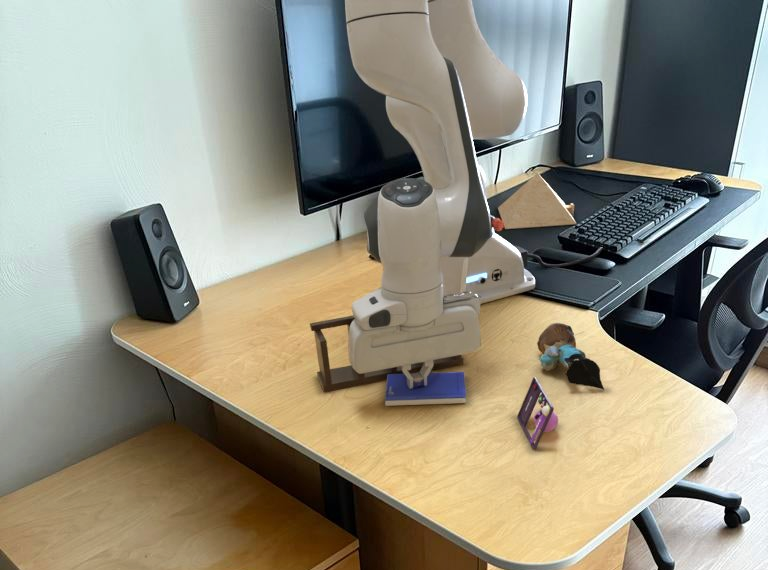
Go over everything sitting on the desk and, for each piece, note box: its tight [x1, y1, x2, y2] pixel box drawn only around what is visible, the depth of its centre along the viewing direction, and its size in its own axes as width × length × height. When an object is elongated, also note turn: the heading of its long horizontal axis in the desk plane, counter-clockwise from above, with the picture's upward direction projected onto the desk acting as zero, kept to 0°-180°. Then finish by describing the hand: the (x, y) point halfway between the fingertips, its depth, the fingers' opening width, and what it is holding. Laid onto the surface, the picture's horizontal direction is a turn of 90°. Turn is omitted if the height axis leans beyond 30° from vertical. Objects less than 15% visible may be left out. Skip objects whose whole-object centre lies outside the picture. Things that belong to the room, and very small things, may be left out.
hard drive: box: [384, 371, 467, 407], centre depth 121 cm, size 2×8×12 cm
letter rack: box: [309, 314, 465, 393], centre depth 125 cm, size 24×5×10 cm, turn 105°
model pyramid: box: [497, 172, 577, 230], centre depth 183 cm, size 17×17×10 cm
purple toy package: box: [516, 377, 559, 450], centre depth 108 cm, size 7×5×9 cm
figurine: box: [536, 322, 606, 391], centre depth 121 cm, size 8×16×6 cm, turn 10°
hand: (417, 385), depth 120 cm, fingers closed, pressing on hard drive
